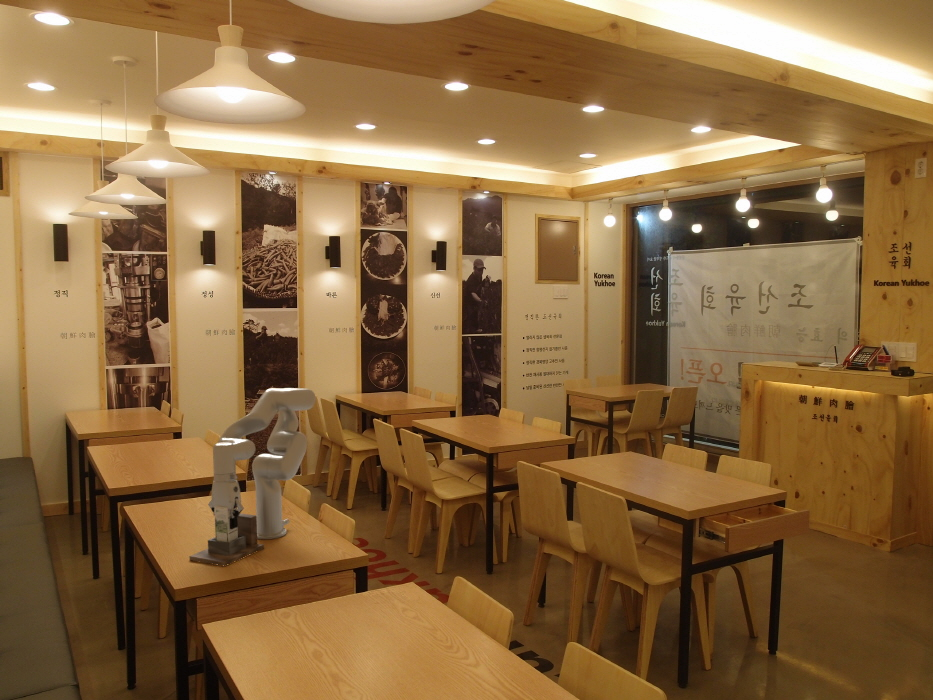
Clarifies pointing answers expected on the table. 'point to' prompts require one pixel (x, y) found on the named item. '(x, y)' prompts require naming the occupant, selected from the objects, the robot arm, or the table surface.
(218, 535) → the syrup box
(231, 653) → the table surface
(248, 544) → the post bracket stand
